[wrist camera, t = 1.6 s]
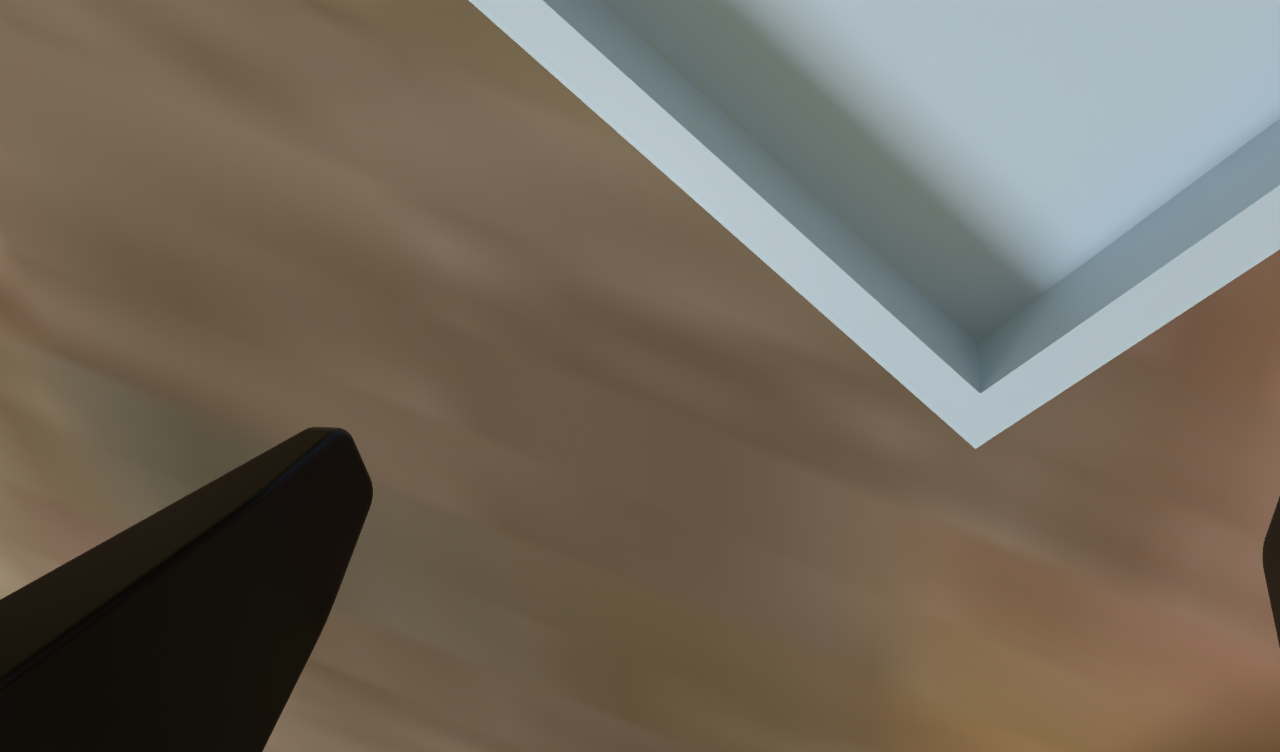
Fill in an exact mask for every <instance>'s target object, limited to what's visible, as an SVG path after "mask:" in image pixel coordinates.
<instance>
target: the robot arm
mask: <svg viewBox="0 0 1280 752" xmlns="http://www.w3.org/2000/svg"><path fill="white" fill-rule="evenodd" d="M372 496H373V487H372V482H371V479H370V477H369V474H368V472H367V470H366V467H365V465H364V463H363V461H362V458H361V456H360V454H359V451H358V449H357V447H356V445H355V442H354V440H353V438H352V436H351V435H350V434H349V433H348V432H347V431H346V430H344V429H341V428H331V427H311V428H308V429H306V430H304V431H302V432H300V433H298V434H296V435H295V436H293V437H291V438H289V439H287V440H286V441H284V442H282V443H280V444H278V445H277V446H275V447H273V448H271V449H270V450H268V451H266V452H264V453H262V454H261V455H259V456H257V457H255V458H253V459H252V460H250V461H248V462H246V463H244V464H243V465H241V466H239V467H237V468H235V469H234V470H232V471H230V472H228V473H226V474H225V475H223V476H221V477H219V478H218V479H216V480H214V481H212V482H210V483H209V484H207V485H205V486H203V487H201V488H200V489H198V490H196V491H194V492H192V493H191V494H189V495H187V496H185V497H183V498H182V499H180V500H178V501H176V502H175V503H173V504H171V505H169V506H167V507H166V508H164V509H162V510H160V511H158V512H157V513H155V514H153V515H151V516H149V517H148V518H146V519H144V520H142V521H140V522H139V523H137V524H135V525H133V526H132V527H130V528H128V529H126V530H124V531H123V532H121V533H119V534H117V535H115V536H114V537H112V538H110V539H108V540H106V541H105V542H103V543H101V544H99V545H97V546H96V547H94V548H92V549H90V550H89V551H87V552H85V553H83V554H81V555H80V556H78V557H76V558H74V559H72V560H71V561H69V562H67V563H65V564H63V565H62V566H60V567H58V568H56V569H54V570H53V571H51V572H49V573H47V574H46V575H44V576H42V577H40V578H38V579H37V580H35V581H33V582H31V583H29V584H28V585H26V586H24V587H22V588H20V589H19V590H17V591H15V592H13V593H11V594H10V595H8V596H6V597H4V598H3V599H1V600H0V752H262V751H263V749H264V747H265V745H266V743H267V741H268V739H269V737H270V735H271V733H272V731H273V729H274V727H275V725H276V723H277V721H278V719H279V717H280V715H281V713H282V711H283V709H284V707H285V705H286V703H287V701H288V699H289V697H290V695H291V693H292V691H293V689H294V687H295V685H296V683H297V681H298V679H299V677H300V675H301V673H302V671H303V669H304V667H305V665H306V663H307V661H308V659H309V657H310V655H311V653H312V651H313V649H314V646H315V644H316V642H317V640H318V638H319V636H320V634H321V632H322V630H323V628H324V625H325V623H326V621H327V619H328V616H329V614H330V611H331V609H332V606H333V604H334V601H335V599H336V596H337V593H338V591H339V588H340V585H341V583H342V580H343V578H344V575H345V572H346V570H347V567H348V564H349V562H350V559H351V556H352V554H353V551H354V548H355V546H356V543H357V540H358V538H359V535H360V532H361V530H362V527H363V524H364V522H365V519H366V516H367V514H368V511H369V509H370V506H371V502H372ZM1263 568H1264V574H1265V578H1266V583H1267V588H1268V593H1269V598H1270V603H1271V608H1272V612H1273V617H1274V622H1275V627H1276V632H1277V637H1278V642H1279V646H1280V497H1279V500H1278V503H1277V506H1276V509H1275V511H1274V514H1273V517H1272V520H1271V523H1270V526H1269V529H1268V532H1267V534H1266V537H1265V541H1264V546H1263Z"/></svg>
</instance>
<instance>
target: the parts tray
mask: <svg viewBox="0 0 1280 752" xmlns="http://www.w3.org/2000/svg"><path fill="white" fill-rule="evenodd" d="M469 1H470V2H471V3H472V4H473V5H474V6H476V7H477V8H478V9H479V10H480V11H481V12H482V13H483V14H485V15H486V16H487V17H488V18H489V19H490V20H491V21H493V22H494V23H495V24H496V25H497V26H498V27H499V28H500V29H502V30H503V31H504V32H505V33H506V34H507V35H508V36H509V37H511V38H512V39H513V40H514V41H515V42H516V43H517V44H519V45H520V46H521V47H522V48H523V49H524V50H525V51H526V52H528V53H529V54H530V55H531V56H532V57H533V58H534V59H535V60H537V61H538V62H539V63H540V64H541V65H542V66H543V67H545V68H546V69H547V70H548V71H549V72H550V73H551V74H552V75H554V76H555V77H556V78H557V79H558V80H559V81H560V82H561V83H563V84H564V85H565V86H566V87H567V88H568V89H569V90H571V91H572V92H573V93H574V94H575V95H576V96H577V97H578V98H580V99H581V100H582V101H583V102H584V103H585V104H586V105H587V106H589V107H590V108H591V109H592V110H593V111H594V112H595V113H597V114H598V115H599V116H600V117H601V118H602V119H603V120H604V121H606V122H607V123H608V124H609V125H610V126H611V127H612V128H613V129H615V130H616V131H617V132H618V133H619V134H620V135H621V136H622V137H624V138H625V139H626V140H627V141H628V142H629V143H630V144H632V145H633V146H634V147H635V148H636V149H637V150H638V151H639V152H641V153H642V154H643V155H644V156H645V157H646V158H647V159H648V160H650V161H651V162H652V163H653V164H654V165H655V166H656V167H658V168H659V169H660V170H661V171H662V172H663V173H664V174H665V175H667V176H668V177H669V178H670V179H671V180H672V181H673V182H674V183H676V184H677V185H678V186H679V187H680V188H681V189H682V190H684V191H685V192H686V193H687V194H688V195H689V196H690V197H691V198H693V199H694V200H695V201H696V202H697V203H698V204H699V205H700V206H702V207H703V208H704V209H705V210H706V211H707V212H708V213H710V214H711V215H712V216H713V217H714V218H715V219H716V220H717V221H719V222H720V223H721V224H722V225H723V226H724V227H725V228H726V229H728V230H729V231H730V232H731V233H732V234H733V235H734V236H736V237H737V238H738V239H739V240H740V241H741V242H742V243H743V244H745V245H746V246H747V247H748V248H749V249H750V250H751V251H752V252H754V253H755V254H756V255H757V256H758V257H759V258H760V259H761V260H763V261H764V262H765V263H766V264H767V265H768V266H769V267H771V268H772V269H773V270H774V271H775V272H776V273H777V274H778V275H780V276H781V277H782V278H783V279H784V280H785V281H786V282H787V283H789V284H790V285H791V286H792V287H793V288H794V289H795V290H797V291H798V292H799V293H800V294H801V295H802V296H803V297H804V298H806V299H807V300H808V301H809V302H810V303H811V304H812V305H813V306H815V307H816V308H817V309H818V310H819V311H820V312H821V313H823V314H824V315H825V316H826V317H827V318H828V319H829V320H830V321H832V322H833V323H834V324H835V325H836V326H837V327H838V328H839V329H841V330H842V331H843V332H844V333H845V334H846V335H847V336H849V337H850V338H851V339H852V340H853V341H854V342H855V343H856V344H858V345H859V346H860V347H861V348H862V349H863V350H864V351H865V352H867V353H868V354H869V355H870V356H871V357H872V358H873V359H875V360H876V361H877V362H878V363H879V364H880V365H881V366H882V367H884V368H885V369H886V370H887V371H888V372H889V373H890V374H891V375H893V376H894V377H895V378H896V379H897V380H898V381H899V382H900V383H902V384H903V385H904V386H905V387H906V388H907V389H908V390H910V391H911V392H912V393H913V394H914V395H915V396H916V397H917V398H919V399H920V400H921V401H922V402H923V403H924V404H925V405H926V406H928V407H929V408H930V409H931V410H932V411H933V412H934V413H936V414H937V415H938V416H939V417H940V418H941V419H942V420H943V421H945V422H946V423H947V424H948V425H949V426H950V427H951V428H952V429H954V430H955V431H956V432H957V433H958V434H959V435H960V436H962V437H963V438H964V439H965V440H966V441H967V442H968V443H969V444H971V445H972V446H973V447H974V448H975V449H976V448H977V447H979V446H980V445H982V444H983V443H985V442H987V441H988V440H990V439H991V438H993V437H994V436H996V435H997V434H999V433H1000V432H1002V431H1003V430H1005V429H1006V428H1008V427H1009V426H1011V425H1012V424H1014V423H1016V422H1017V421H1019V420H1020V419H1022V418H1023V417H1025V416H1026V415H1028V414H1029V413H1031V412H1032V411H1034V410H1035V409H1037V408H1038V407H1040V406H1041V405H1043V404H1044V403H1046V402H1048V401H1049V400H1051V399H1052V398H1054V397H1055V396H1057V395H1058V394H1060V393H1061V392H1063V391H1064V390H1066V389H1067V388H1069V387H1070V386H1072V385H1073V384H1075V383H1077V382H1078V381H1080V380H1081V379H1083V378H1084V377H1086V376H1087V375H1089V374H1090V373H1092V372H1093V371H1095V370H1096V369H1098V368H1099V367H1101V366H1102V365H1104V364H1105V363H1107V362H1109V361H1110V360H1112V359H1113V358H1115V357H1116V356H1118V355H1119V354H1121V353H1122V352H1124V351H1125V350H1127V349H1128V348H1130V347H1131V346H1133V345H1134V344H1136V343H1138V342H1139V341H1141V340H1142V339H1144V338H1145V337H1147V336H1148V335H1150V334H1151V333H1153V332H1154V331H1156V330H1157V329H1159V328H1160V327H1162V326H1163V325H1165V324H1166V323H1168V322H1170V321H1171V320H1173V319H1174V318H1176V317H1177V316H1179V315H1180V314H1182V313H1183V312H1185V311H1186V310H1188V309H1189V308H1191V307H1192V306H1194V305H1195V304H1197V303H1199V302H1200V301H1202V300H1203V299H1205V298H1206V297H1208V296H1209V295H1211V294H1212V293H1214V292H1215V291H1217V290H1218V289H1220V288H1221V287H1223V286H1224V285H1226V284H1227V283H1229V282H1231V281H1232V280H1234V279H1235V278H1237V277H1238V276H1240V275H1241V274H1243V273H1244V272H1246V271H1247V270H1249V269H1250V268H1252V267H1253V266H1255V265H1256V264H1258V263H1260V262H1261V261H1263V260H1264V259H1266V258H1267V257H1269V256H1270V255H1272V254H1273V253H1275V252H1276V251H1278V250H1279V249H1280V0H469Z"/></svg>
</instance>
